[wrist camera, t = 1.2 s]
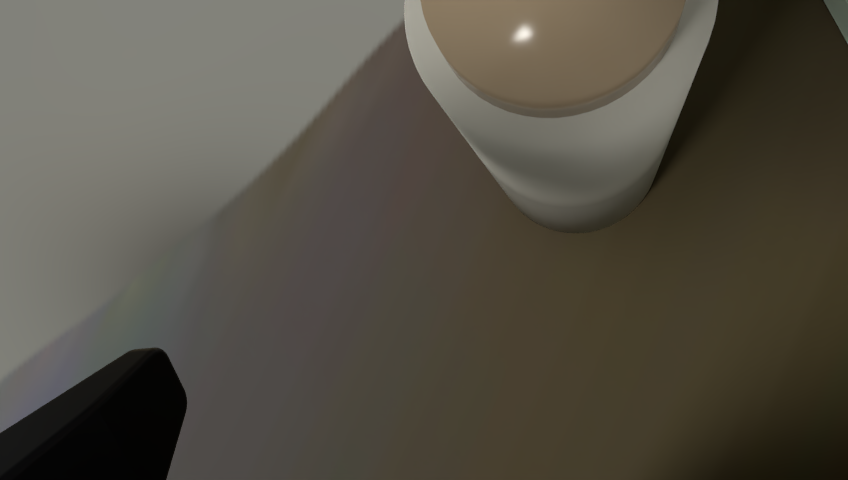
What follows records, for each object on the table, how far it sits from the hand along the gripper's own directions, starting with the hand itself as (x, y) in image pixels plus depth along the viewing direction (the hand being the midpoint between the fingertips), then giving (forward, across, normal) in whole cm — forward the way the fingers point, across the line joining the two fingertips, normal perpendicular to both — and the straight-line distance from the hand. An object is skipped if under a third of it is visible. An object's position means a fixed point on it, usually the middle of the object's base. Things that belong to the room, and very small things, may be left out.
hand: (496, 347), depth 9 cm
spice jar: (+15, -1, +4) cm, 16 cm away
